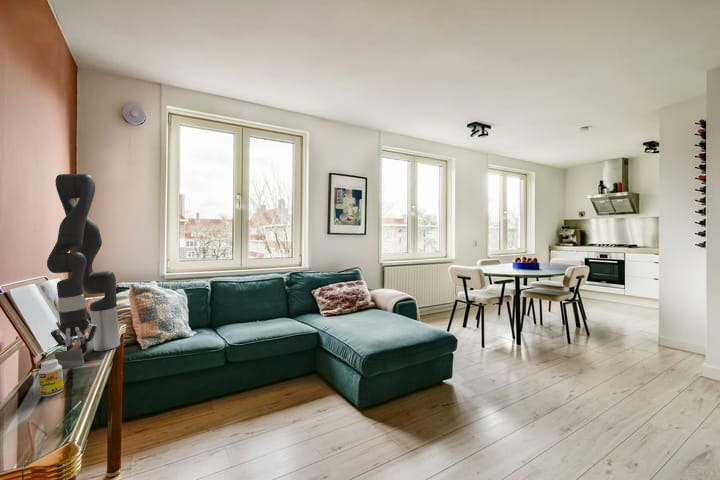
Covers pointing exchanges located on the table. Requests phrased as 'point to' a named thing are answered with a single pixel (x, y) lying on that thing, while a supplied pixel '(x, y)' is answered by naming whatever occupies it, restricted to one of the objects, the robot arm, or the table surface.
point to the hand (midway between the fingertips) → (77, 354)
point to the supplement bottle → (50, 378)
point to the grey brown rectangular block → (71, 356)
